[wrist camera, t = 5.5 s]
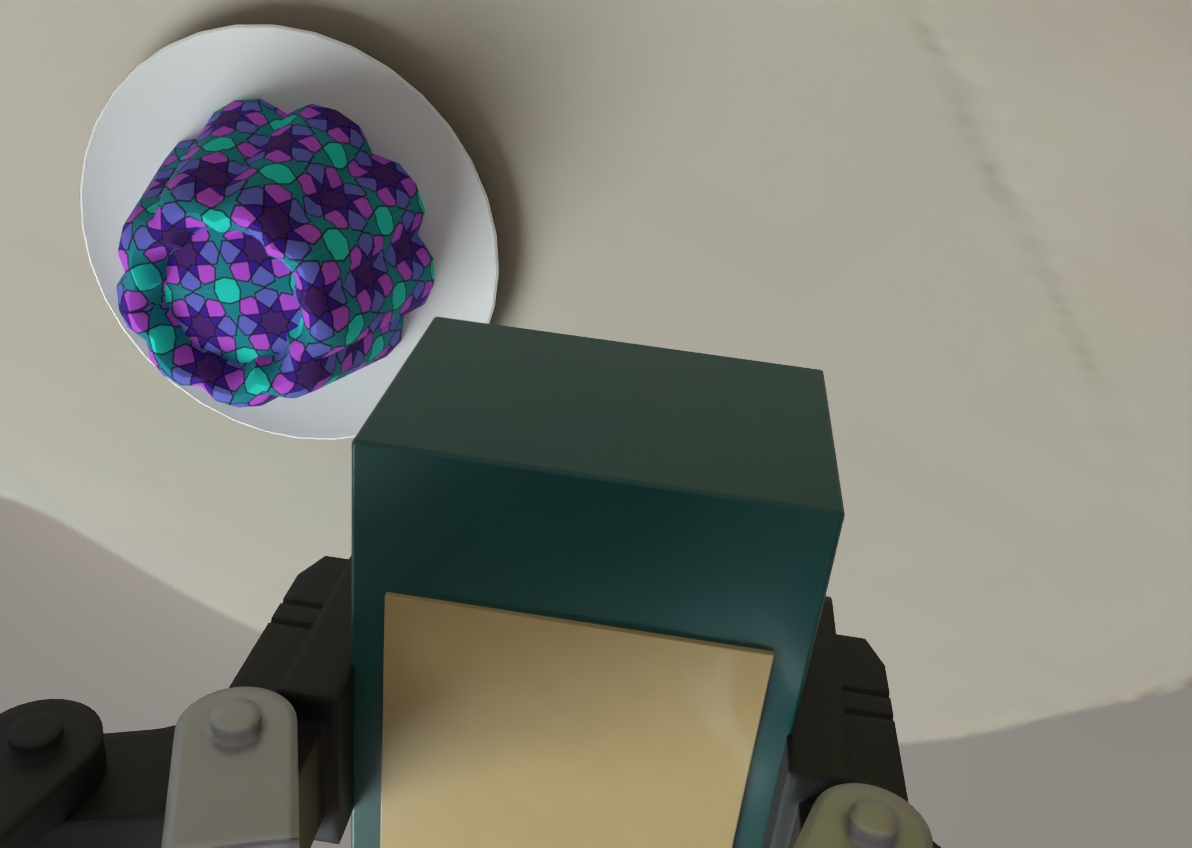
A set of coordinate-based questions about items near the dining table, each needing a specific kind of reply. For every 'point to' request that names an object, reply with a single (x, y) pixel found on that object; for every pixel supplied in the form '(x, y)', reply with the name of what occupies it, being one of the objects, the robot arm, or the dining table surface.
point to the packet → (583, 591)
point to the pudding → (282, 224)
